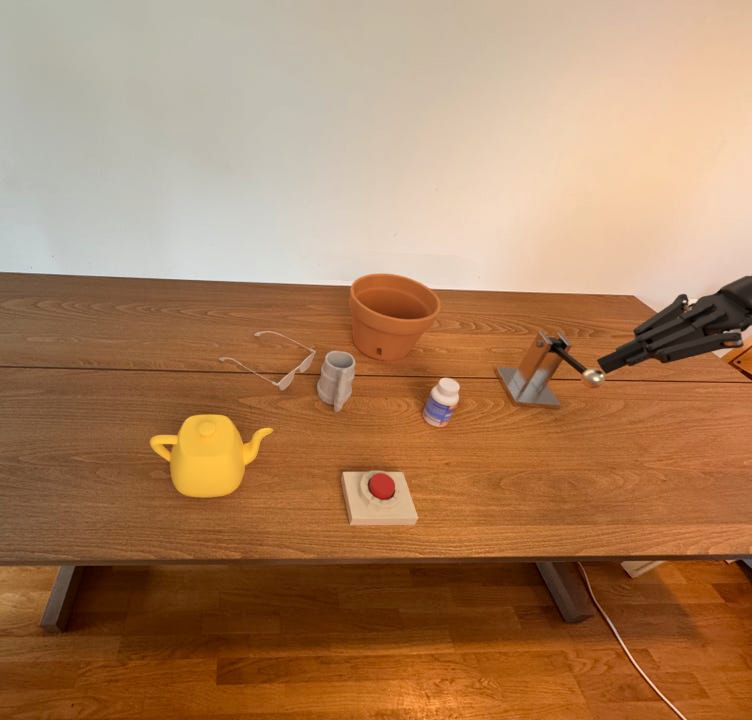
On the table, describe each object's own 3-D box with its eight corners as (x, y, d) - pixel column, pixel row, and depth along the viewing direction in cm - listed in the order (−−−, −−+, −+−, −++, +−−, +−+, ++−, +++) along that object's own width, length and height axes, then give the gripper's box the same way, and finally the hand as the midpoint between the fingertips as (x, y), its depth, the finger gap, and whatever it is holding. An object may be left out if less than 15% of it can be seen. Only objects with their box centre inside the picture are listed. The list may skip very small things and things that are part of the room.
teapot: (271, 505, 71) (276, 460, 63) (150, 509, 69) (140, 463, 61) (266, 443, 81) (270, 397, 73) (161, 445, 79) (153, 398, 72)
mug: (348, 383, 96) (358, 341, 88) (354, 421, 87) (366, 378, 79) (315, 381, 96) (322, 339, 88) (317, 419, 87) (325, 376, 79)
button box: (399, 478, 77) (405, 465, 74) (414, 525, 70) (421, 512, 67) (340, 478, 76) (344, 465, 73) (349, 525, 69) (354, 512, 66)
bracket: (558, 409, 93) (594, 357, 84) (513, 405, 93) (544, 354, 84) (534, 373, 103) (565, 323, 93) (494, 370, 103) (520, 320, 93)
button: (389, 478, 72) (391, 472, 71) (395, 499, 69) (398, 493, 68) (366, 478, 72) (368, 472, 71) (371, 499, 69) (374, 493, 68)
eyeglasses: (277, 397, 91) (278, 383, 89) (216, 361, 99) (215, 348, 97) (315, 362, 101) (317, 349, 99) (256, 333, 109) (257, 320, 106)
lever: (604, 392, 77) (613, 375, 75) (584, 391, 77) (593, 374, 75) (552, 350, 92) (559, 335, 90) (536, 348, 92) (542, 333, 90)
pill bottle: (444, 431, 86) (460, 397, 80) (418, 420, 88) (432, 386, 82) (450, 415, 90) (466, 382, 84) (425, 405, 92) (439, 371, 86)
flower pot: (437, 346, 109) (457, 296, 100) (396, 383, 97) (413, 331, 88) (369, 312, 120) (381, 265, 111) (324, 342, 108) (333, 292, 98)
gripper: (808, 333, 62) (629, 404, 73) (736, 288, 72) (588, 356, 83) (803, 299, 59) (616, 379, 69) (729, 258, 69) (575, 333, 80)
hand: (601, 366), depth 76 cm, fingers closed
